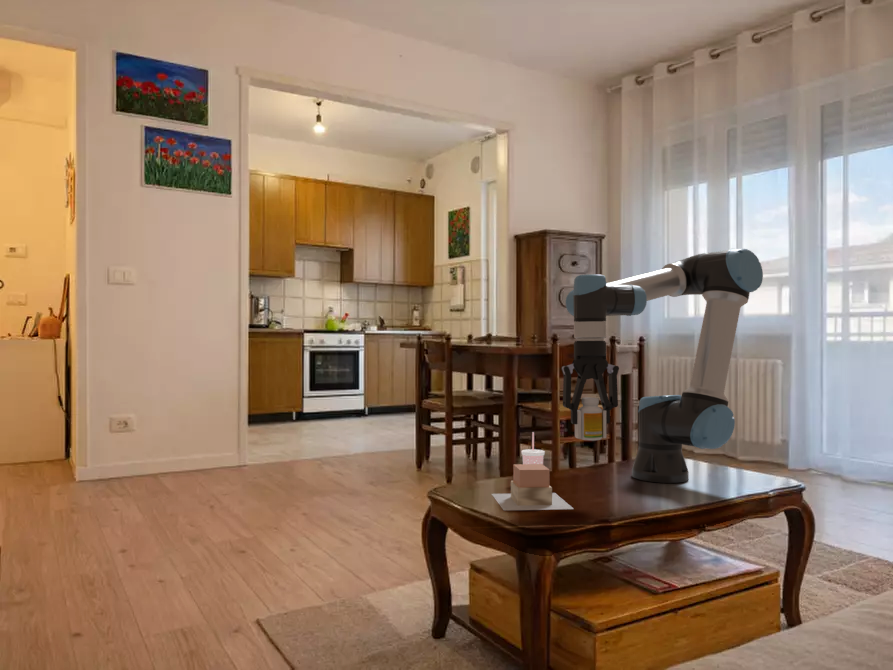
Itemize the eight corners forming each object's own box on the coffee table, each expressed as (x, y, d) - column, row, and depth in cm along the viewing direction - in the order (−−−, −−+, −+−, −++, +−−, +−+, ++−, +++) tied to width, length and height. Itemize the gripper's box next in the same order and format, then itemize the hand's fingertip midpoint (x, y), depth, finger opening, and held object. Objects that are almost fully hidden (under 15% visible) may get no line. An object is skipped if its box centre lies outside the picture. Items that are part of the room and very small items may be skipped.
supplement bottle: (607, 439, 158) (606, 398, 158) (590, 441, 155) (590, 399, 155) (590, 436, 163) (590, 396, 163) (574, 438, 160) (574, 397, 160)
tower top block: (541, 480, 161) (542, 464, 161) (549, 487, 154) (549, 469, 154) (513, 481, 161) (513, 464, 161) (519, 487, 154) (519, 470, 154)
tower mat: (555, 494, 166) (555, 492, 166) (574, 510, 150) (574, 509, 150) (491, 495, 164) (491, 493, 164) (503, 512, 149) (503, 510, 149)
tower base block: (543, 496, 162) (543, 480, 162) (552, 504, 154) (552, 487, 154) (510, 497, 161) (510, 480, 161) (517, 505, 153) (517, 487, 153)
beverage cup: (546, 487, 174) (546, 433, 174) (522, 487, 174) (523, 433, 174) (542, 482, 180) (543, 430, 180) (519, 482, 180) (520, 430, 180)
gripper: (621, 339, 164) (622, 434, 164) (547, 340, 162) (548, 436, 162) (633, 339, 156) (634, 439, 156) (556, 340, 154) (556, 440, 154)
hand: (590, 437), depth 159 cm, fingers closed on supplement bottle, 5 cm apart
